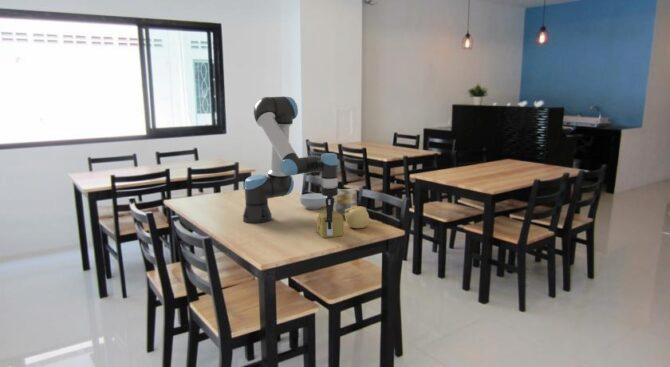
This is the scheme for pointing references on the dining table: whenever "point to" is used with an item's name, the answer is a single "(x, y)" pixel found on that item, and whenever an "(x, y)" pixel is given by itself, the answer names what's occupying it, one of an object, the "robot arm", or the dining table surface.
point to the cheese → (337, 224)
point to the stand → (345, 200)
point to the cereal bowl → (313, 200)
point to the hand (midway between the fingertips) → (330, 231)
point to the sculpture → (357, 217)
